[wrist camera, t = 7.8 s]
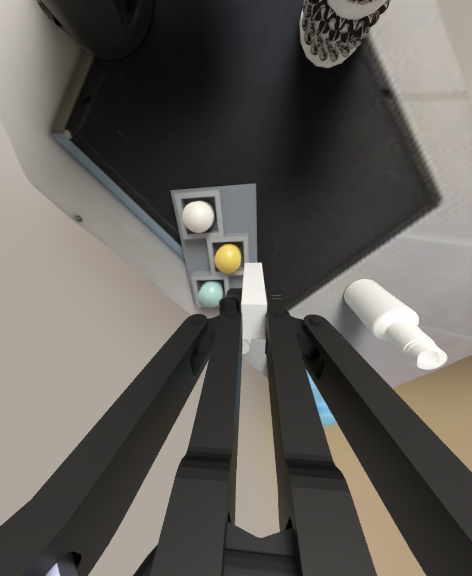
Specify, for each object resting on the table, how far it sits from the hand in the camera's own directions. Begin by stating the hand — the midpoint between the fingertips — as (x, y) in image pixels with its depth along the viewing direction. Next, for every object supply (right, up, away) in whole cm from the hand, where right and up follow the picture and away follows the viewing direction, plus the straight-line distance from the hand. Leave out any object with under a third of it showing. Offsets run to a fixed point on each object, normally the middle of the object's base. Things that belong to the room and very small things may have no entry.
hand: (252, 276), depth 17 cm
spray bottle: (+25, -2, +23) cm, 34 cm away
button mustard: (-3, +5, +17) cm, 18 cm away
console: (-4, +7, +21) cm, 22 cm away
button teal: (-6, -1, +21) cm, 22 cm away
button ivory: (-7, +11, +14) cm, 20 cm away
